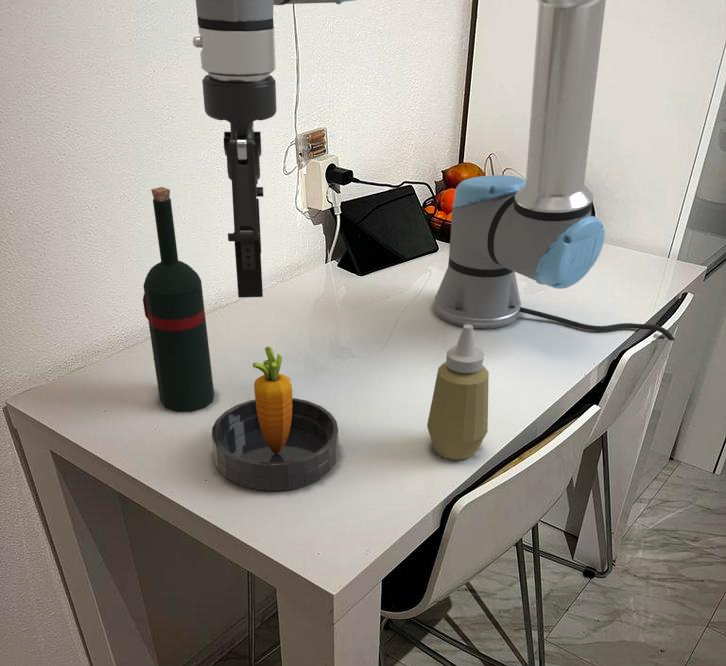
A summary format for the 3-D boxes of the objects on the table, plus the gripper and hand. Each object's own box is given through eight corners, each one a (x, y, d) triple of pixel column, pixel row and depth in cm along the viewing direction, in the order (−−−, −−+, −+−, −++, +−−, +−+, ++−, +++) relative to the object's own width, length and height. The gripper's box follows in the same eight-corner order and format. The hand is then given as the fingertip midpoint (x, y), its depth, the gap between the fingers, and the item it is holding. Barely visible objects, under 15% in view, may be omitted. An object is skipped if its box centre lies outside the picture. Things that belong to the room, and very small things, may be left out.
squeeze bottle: (496, 448, 108) (514, 326, 98) (461, 473, 103) (476, 347, 93) (449, 426, 112) (460, 306, 102) (413, 449, 108) (421, 326, 97)
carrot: (289, 466, 103) (285, 363, 94) (252, 461, 104) (245, 358, 95) (299, 445, 107) (296, 344, 98) (264, 441, 108) (257, 340, 99)
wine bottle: (183, 374, 123) (156, 173, 105) (225, 398, 117) (205, 189, 100) (139, 393, 118) (104, 185, 100) (182, 418, 113) (152, 203, 95)
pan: (331, 419, 113) (331, 394, 111) (344, 487, 100) (344, 460, 98) (215, 426, 111) (212, 400, 109) (214, 496, 98) (210, 468, 96)
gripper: (206, 54, 92) (221, 237, 104) (195, 98, 72) (214, 318, 84) (272, 55, 92) (279, 236, 105) (278, 99, 72) (286, 316, 85)
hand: (250, 273), depth 95 cm, fingers open, 13 cm apart
